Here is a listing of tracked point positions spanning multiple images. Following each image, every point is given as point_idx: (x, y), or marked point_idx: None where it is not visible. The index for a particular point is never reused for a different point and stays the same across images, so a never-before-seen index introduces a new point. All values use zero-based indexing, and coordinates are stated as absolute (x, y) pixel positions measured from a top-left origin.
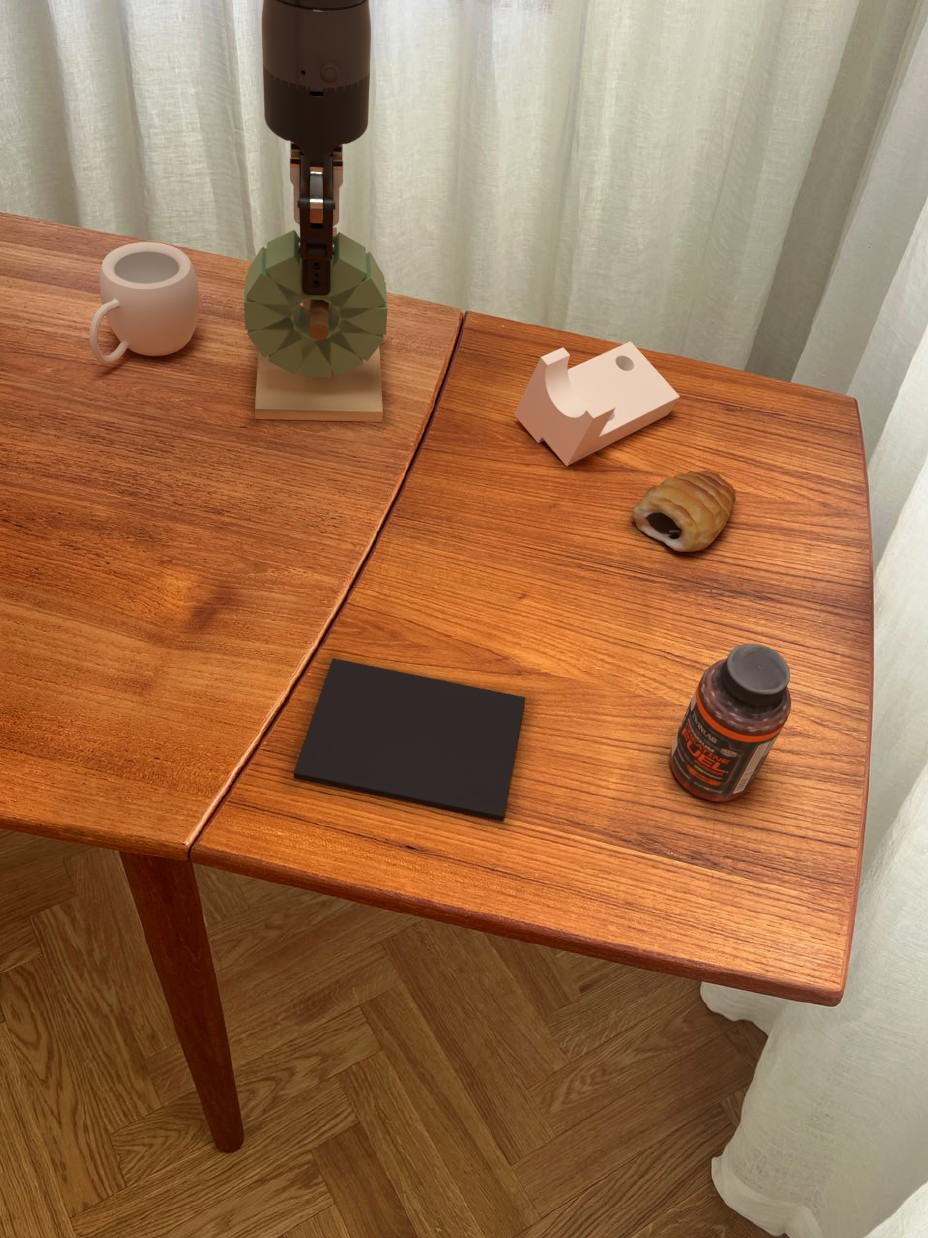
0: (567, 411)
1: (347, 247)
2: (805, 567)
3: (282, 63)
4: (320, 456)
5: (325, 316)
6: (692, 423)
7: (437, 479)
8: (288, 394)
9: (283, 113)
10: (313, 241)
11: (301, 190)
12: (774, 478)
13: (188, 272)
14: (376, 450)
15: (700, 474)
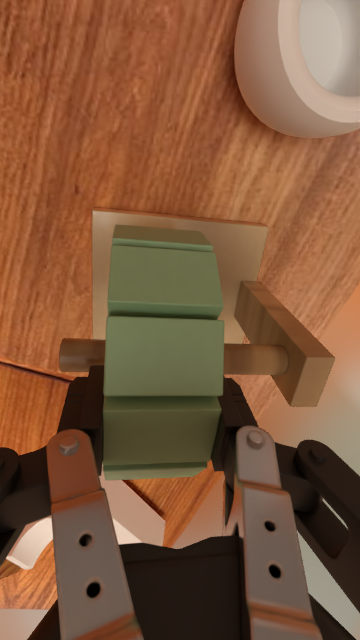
0: (43, 524)
1: (161, 472)
2: None
3: None
4: (27, 281)
5: (88, 371)
6: None
7: (4, 389)
8: None
9: None
10: (13, 506)
11: (237, 509)
12: (42, 579)
13: (321, 116)
14: (45, 339)
15: (4, 569)
